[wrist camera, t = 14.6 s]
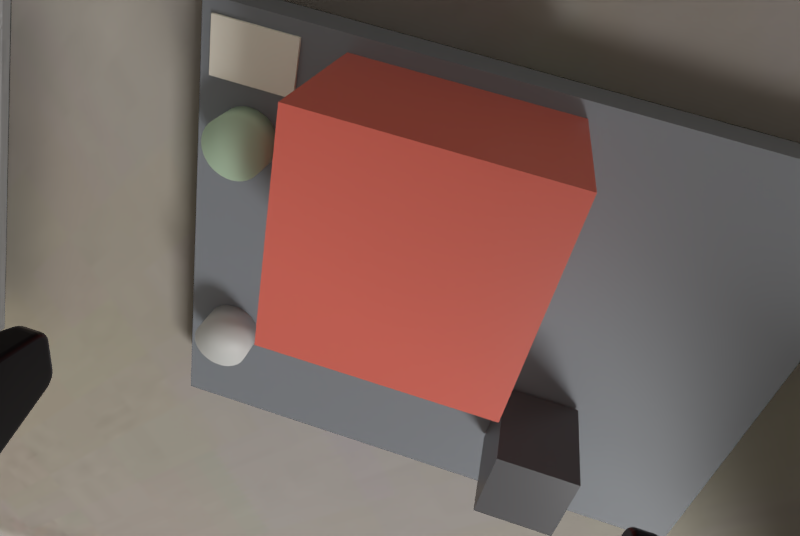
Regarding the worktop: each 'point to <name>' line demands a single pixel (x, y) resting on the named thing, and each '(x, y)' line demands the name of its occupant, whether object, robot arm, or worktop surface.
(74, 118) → the worktop surface
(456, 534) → the worktop surface
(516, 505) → the dark grey small block
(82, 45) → the worktop surface
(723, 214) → the panel
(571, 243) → the cap
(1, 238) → the electrical outlet
